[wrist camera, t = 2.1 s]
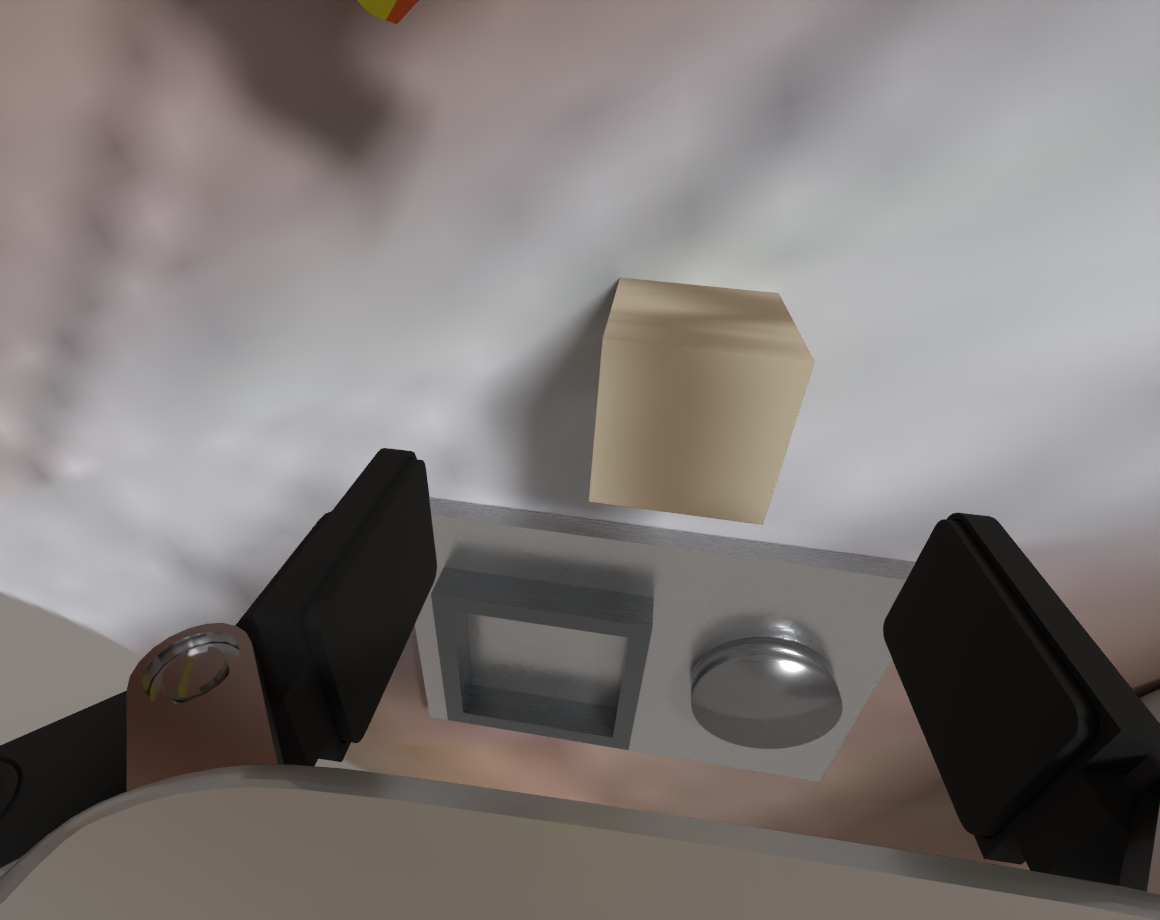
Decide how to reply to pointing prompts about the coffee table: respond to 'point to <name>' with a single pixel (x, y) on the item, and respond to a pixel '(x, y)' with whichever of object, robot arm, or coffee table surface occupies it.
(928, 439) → the coffee table surface
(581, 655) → the carrier plate
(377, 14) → the yellow toy car
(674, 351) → the block
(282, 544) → the coffee table surface
